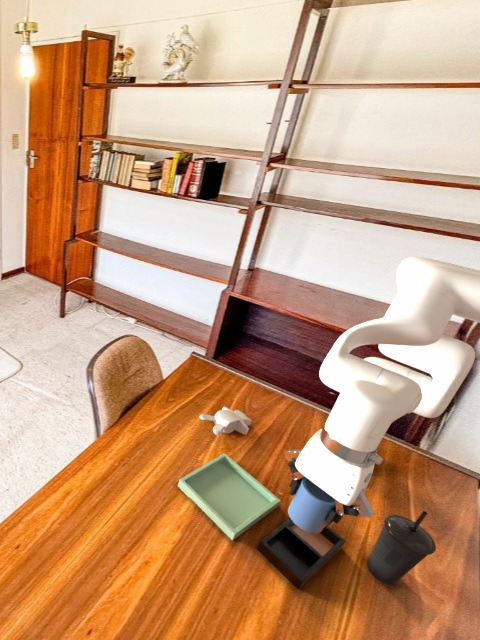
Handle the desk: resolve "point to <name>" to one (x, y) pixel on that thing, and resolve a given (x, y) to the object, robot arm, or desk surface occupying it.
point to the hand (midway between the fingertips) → (312, 505)
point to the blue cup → (310, 507)
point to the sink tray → (228, 495)
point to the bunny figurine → (228, 421)
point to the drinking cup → (399, 548)
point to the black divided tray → (299, 551)
